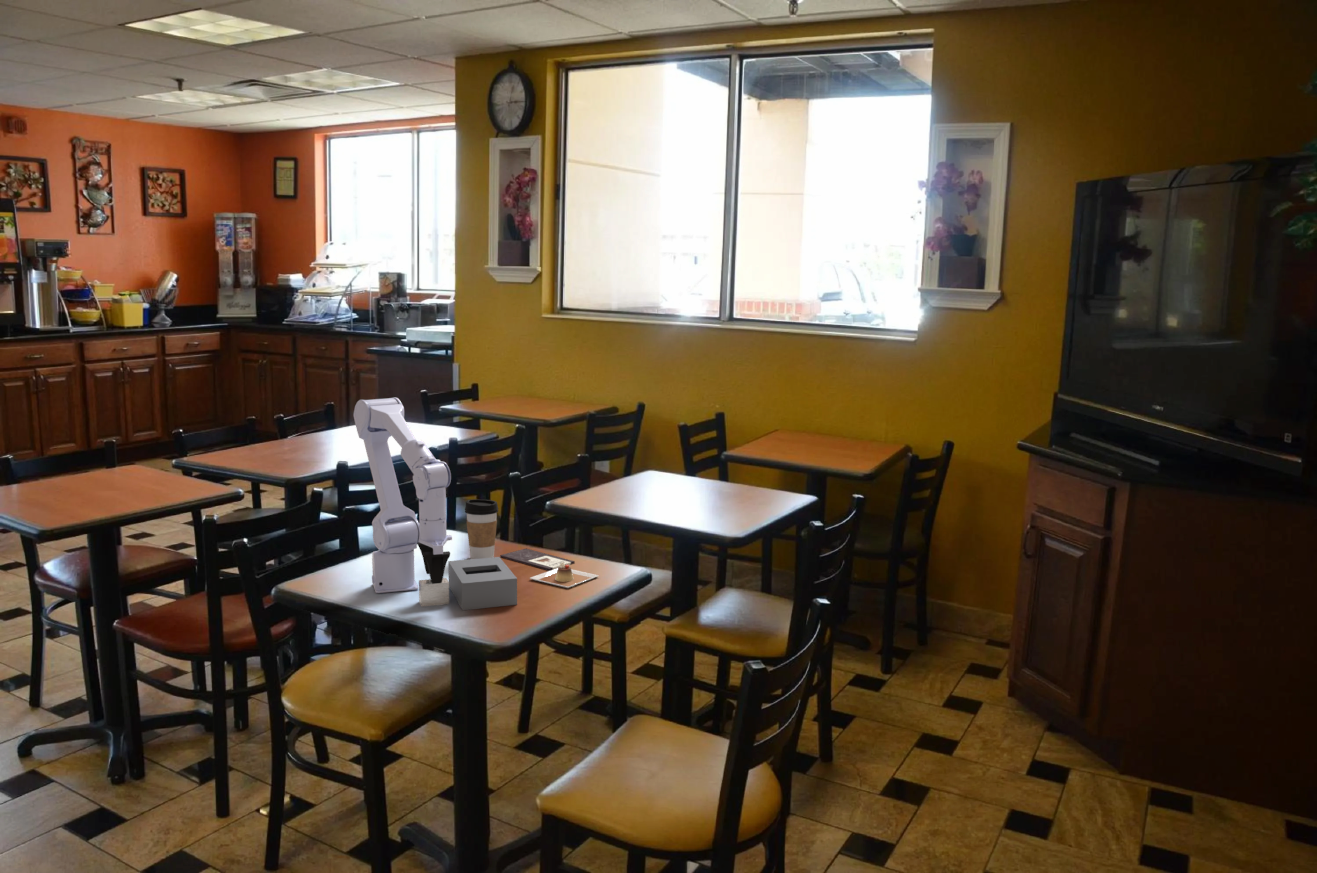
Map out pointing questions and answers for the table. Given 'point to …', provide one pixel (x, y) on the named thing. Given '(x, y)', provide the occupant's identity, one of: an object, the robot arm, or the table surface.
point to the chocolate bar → (537, 559)
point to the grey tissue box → (482, 583)
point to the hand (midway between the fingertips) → (434, 578)
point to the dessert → (563, 575)
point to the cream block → (433, 592)
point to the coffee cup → (481, 527)
